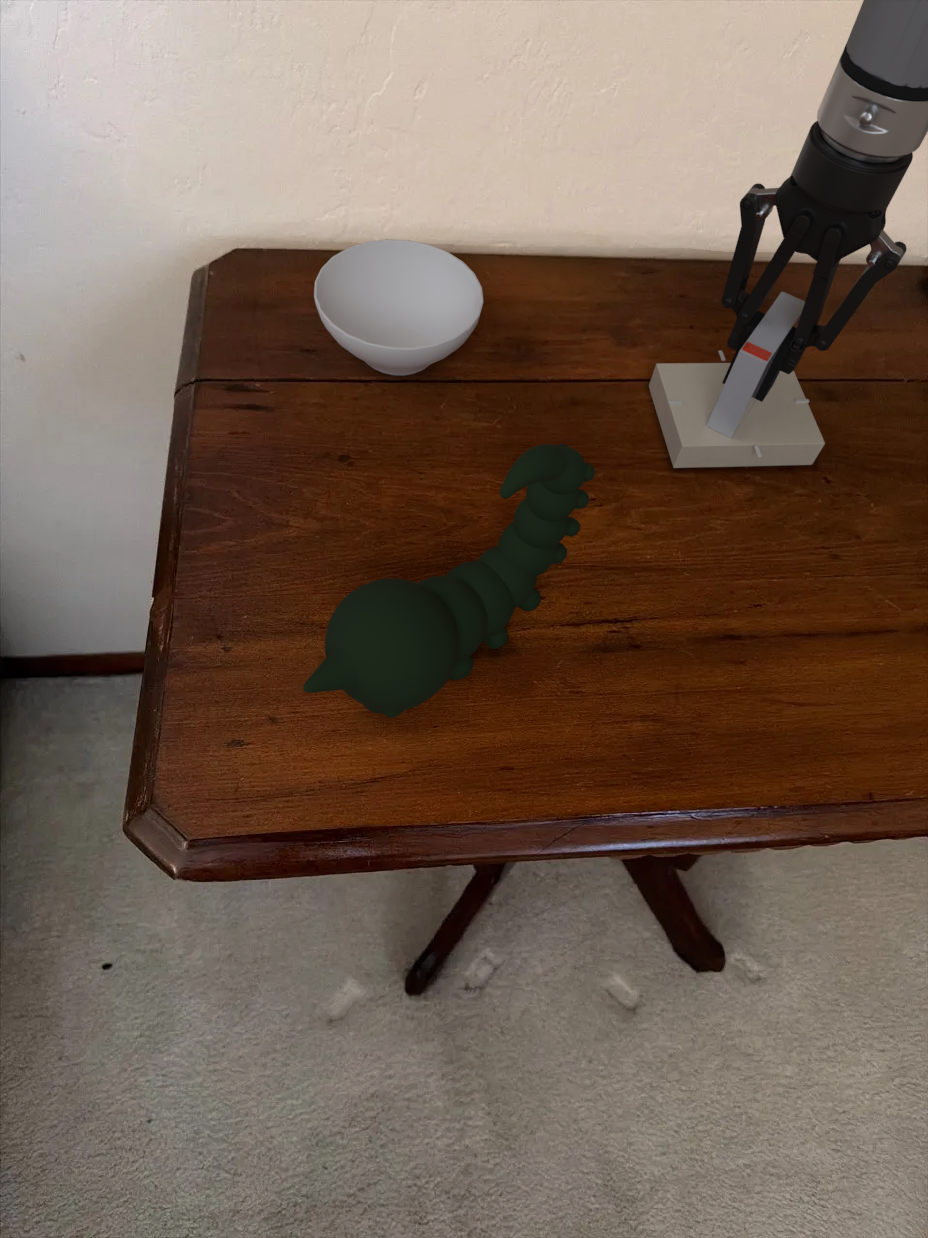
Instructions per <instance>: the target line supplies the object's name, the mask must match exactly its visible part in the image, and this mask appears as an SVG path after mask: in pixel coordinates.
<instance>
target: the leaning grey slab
mask: <svg viewBox="0 0 928 1238" xmlns="http://www.w3.org/2000/svg"><path fill="white" fill-rule="evenodd" d="M805 301H806V300H805ZM805 301H804V300H802V299H800V298H798V297H795V296H793V295H792V294H789V293H787V292H784V291H780V293H779V295H778V296H777V297H776V299H775V300H774V301H773V303H772V304H771V306H770V307H769V309H768V310H767V311H766V312H765V313H764V314H765V316H764V317H763V318H762V320H761V321H760V323H759V324H758V325H757V327H756V328H755V330H754V331H753V332H752V334H751V335H750V337H749V338H748V339H747V341H746V342H745V344H744V345H743V346H742V348H741V349H740V351H739V353H738V355H737V357H736V360H735V362H734V364H733V366H732V369H731V371H730V373H729V375H728V378H727V380H726V382H725V385H724V387H723V389H722V391H721V394H720V396H719V398H718V400H717V403H716V405H715V407H714V409H713V412H712V414H711V416H710V418H709V421H708V423H707V425H706V426H707V427H709V428H711V429H713V430H715V431H717V432H719V433H721V434H723V435H726V436H728V437H730V438H732V436H733V435H734V433H735V432H736V430H737V429H738V427H739V426H740V424H741V423H742V421H743V420H744V418H745V417H746V415H747V414H748V412H749V411H750V409H751V408H752V406H753V405H754V403H755V402H756V400H757V399H755V397H756V395H757V393H758V391H759V389H760V387H761V385H762V383H763V381H764V379H765V377H766V375H767V372H768V370H769V368H770V366H771V364H772V362H773V360H774V358H775V356H776V354H777V352H778V350H779V348H780V346H781V344H782V342H783V341H784V339H785V338H786V336H787V335H788V333H789V332H790V330H791V329H792V327H795V328H797V326H798V323H799V319H800V316H801V313H802V310H803V307H804V304H805Z"/></svg>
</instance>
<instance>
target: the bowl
mask: <svg viewBox="0 0 928 1238" xmlns="http://www.w3.org/2000/svg"><path fill="white" fill-rule="evenodd" d="M313 298H314V303H315V304H314V305H315V307H316V309H317V312H318V315H319V318H320V321H321V322H322V324H323V326H324V328H325V329H326V330H327V332H328V333H329V334H330V335H331V337H333V339H334V340H335V341H336V342H337V344H339V346H341V347H342V348H343V349H344V350H346V351H348V352H349V353H350V354H352V355H353V356H354V357H356V358H358V359H359V360H361V361H363V362H364V363H365V364H366V365H367V366H369V367H371V368H372V369H373V370H374V371H375V370H376V371H377V372H380V373H381V374H385V375H390V376H410V375H415V374H416V373H417V374H418V373H419V372H422V371H424V370H425V369H426V368H429V366H430V365H433V364H435V363H437V362H440V361H442V360H444V359H446V358H447V357H448V356H450V355H451V354H452V353H455V351H457V350H459V348H460V347H461V346H462V345H464V344H465V342H466V341H467V340H468V339H469V337H470V336H471V335H472V333H473V332H474V330H475V329H476V327H477V325H478V323H479V320H480V316H481V313H482V309H483V306H484V292H483V286H482V285H481V282H480V281H479V278H478V277H477V275H476V273H475V272H474V271H473V270H472V268H470V267H469V266H468V265H467V264H466V263H465V262H464V261H463V260H461V259H459V258H458V257H456V256H455V255H453V254H452V253H450V252H448V250H446V249H445V250H444V249H442V248H440V247H437V246H434V245H432V244H429V243H424V242H419V241H415V240H410V239H392V238H391V239H388V238H387V239H386V238H385V239H380V240H371V241H365V242H362V243H358V244H356V245H353V246H349V247H347V248H345V249H343V250H342V251H340V252H338V253H336V254H335V255H333V256H332V257H330V258H329V260H328V261H327V262H326V263H325V264H324V265H323V266H322V267H321V268H320V270H319V271H318V274H317V276H316V279H315V281H314V288H313Z"/></svg>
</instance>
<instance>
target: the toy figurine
mask: <svg viewBox="0 0 928 1238" xmlns="http://www.w3.org/2000/svg"><path fill="white" fill-rule="evenodd" d="M595 476H596V470H595V468H594V466H593V465H592V464H591V463H589V462H586V461H585V459H584V457H583V456H582V454H581V453H580V452H578V451H577V450H576V449H575V448H572V447H569V445H567V443H563V442H562V443H559V444H557V445H555V444H551V443H550V444H549V443H542V444H538V445H535V446H532V447H530V448H529V449H527V450H526V451H524V452H523V453H522V454H521V455H520V456H519V457H518V458H517V459H516V460H515V461H514V462H513V464H512V466H511V467H510V468H509V470H508V472H507V473H506V476H505V478H504V480H503V481H502V483H501V486H500V488H499V496H500V498H502V499H503V500H506V499H509V498H511V497H512V496H513V495H516V493H518V492H519V491H521V490H522V489H525V488H526V490H525V491H526V492H525V498H524V499H523V500H521V501H520V503H519V504H518V505H517V507H516V509H515V510H514V515H513V519H512V522H511V523H509V524H508V525H507V526H506V527H505V529H504V530H502V532H501V534H500V537H499V538H498V542H497V545H495V546H493V547H490V548H489V549H487V550H485V551H484V552H483V553H481V555H480V556H479V557H478V558H477V560H469V561H466V562H462V563H459V564H458V565H457V566H455V567H453V568H451V569H449V571H448V572H447V573H446V574H445V575H434V576H431V577H428V578H425V579H422V580H420V581H419V582H415V581H413V580H408V579H404V578H398V577H397V578H395V577H394V578H393V577H391V578H381V579H376V580H373V581H370V582H368V583H365V584H363V585H360V586H359V587H357V588H355V589H354V590H352V591H350V592H349V593H347V594H346V596H345V597H344V598H342V600H341V601H339V603H338V604H337V606H336V608H335V610H334V611H333V612H332V614H331V616H330V619H329V621H328V624H327V627H326V631H325V638H324V652H325V658H324V660H323V661H322V662H321V663H320V664H319V665H318V666H317V667H316V669H315V670H314V671H313V672H312V673H311V674H310V676H309V677H308V678H307V679H306V681H305V682H304V684H303V686H302V690H303V692H305V693H307V694H309V693H310V694H315V693H325V692H333V691H343V693H345V694H346V695H347V696H348V697H350V698H351V699H353V700H354V701H355V702H358V703H359V704H361V705H362V706H363V707H364V708H365V709H366V710H368V711H370V712H372V713H373V714H379V715H380V714H382V715H383V716H385V717H386V718H391V719H392V718H397V717H399V716H400V715H401V714H402V713H403V712H405V711H408V710H410V709H411V710H412V709H414V708H416V707H417V706H419V705H421V704H423V703H425V702H426V701H428V700H429V699H430V698H432V697H434V696H435V695H436V694H437V693H438V692H439V691H440V690H441V689H442V688H443V687H444V686H445V684H446V683H447V682H448V681H449V680H453V681H459V680H463V679H465V678H466V677H468V676H469V675H470V674H471V672H472V670H473V668H474V658H473V654H474V653H476V651H477V650H478V649H479V647H480V645H481V644H482V643H484V644H485V645H486V646H487V647H488V648H490V649H493V650H497V649H500V648H502V647H504V646H505V645H506V644H507V642H508V640H509V635H508V630H507V629H506V628H505V627H506V626H507V625H508V624H509V623H510V622H509V621H510V620H511V618H512V616H513V614H514V612H515V608H518V609H520V610H522V611H523V612H532V611H533V612H534V610H536V609H537V608H538V607H539V606H540V604H541V603H542V602H541V601H542V595H541V592H540V591H539V590H538V589H537V588H536V585H537V579H538V576H541V575H543V574H545V573H546V571H548V570H549V569H550V568H551V566H552V565H553V564H554V565H557V564H562V563H563V562H564V560H566V559H567V557H568V548H567V547H566V546H565V545H564V544H563V543H561V541H562V540H563V539H564V538H565V537H566V536H567V537H569V538H573V537H575V536H577V535H578V534H579V532H580V531H581V523H580V521H578V520H577V519H576V518H574V517H573V516H571V517H570V515H571V514H572V513H573V512H574V510H576V509H577V510H582V509H584V508H586V507H587V506H588V505H589V503H590V496H589V493H588V492H587V491H585V490H584V489H580V488H581V487H582V485H583V484H584V483H586V482H590V481H592V480H593V479H594V477H595Z"/></svg>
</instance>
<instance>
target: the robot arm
mask: <svg viewBox="0 0 928 1238" xmlns="http://www.w3.org/2000/svg"><path fill="white" fill-rule="evenodd" d="M839 57H840V58H839V59H838V62H837V65H836V66H835V69H834V71H833V74H832V75H831V79H830V81H829V83H828V84H827V85H828V86H827V88H826V90H825V92H824V95H823V97H822V99H821V102H820V104H819V107H818V109H817V113H816V121H815V122H813V123H812V125H811V126H810V128H809V130H808V132H807V136H806V138H805V139H804V143H803V146H802V147H801V150H800V152H799V155H798V158H796V159H797V160H796V162H795V165H794V166H793V169H792V172H791V174H790V176H789V177H788V178H786V179H785V180H784V181H783V182H782V184H781V185H780V186H779V187H770V188H766V187H765V185H763V183H759V182H758V183H755V184H753V185H752V186H751V187H750V188H749V190H748V191H747V192H746V193H745V194H744V196H743V197H742V198H741V199H740V201H739V212H740V213H739V214H740V223H741V225H740V231H739V234H738V238H737V242H736V245H735V249H734V252H733V256H732V260H731V264H730V267H729V271H728V275H727V279H726V282H725V285H724V289H723V292H722V293H723V294H722V297H721V305H722V307H723V308H725V309H729V310H732V311H733V312H734V313H735V315H736V320H735V321H734V325H733V327H732V329H731V332H730V334H729V336H728V338H727V347H728V348H730V349H732V350H734V351H735V353H734V355H733V357H732V359H731V361H730V363H731V364H730V366H729V368H728V371H727V373H726V375H725V377H724V380H723V382H722V383H723V384H725V382H726V380H727V378H728V375H729V373H730V371H731V369H732V366H733V364H734V362H735V360H736V357H737V355H738V353H739V351H740V349H741V348H742V346H743V345H744V344H745V342H746V341H747V339H748V338H749V337H750V335H751V334H752V332H753V331H754V330H755V328H756V327H757V325H758V324H759V323H760V321H761V320H762V318H763V317H764V316H765V314H766V313H764V312H762V311H761V310H759V309H760V308H761V306H762V305H763V304H764V301H765V300H766V299H767V297H768V295H769V294H770V292H771V291H772V289H773V287H774V286H775V284H776V282H777V280H778V279H779V278H780V277H781V275H782V273H783V271H784V270H785V268H786V267H787V265H788V264H789V262H790V261H791V259H792V257H793V256H794V254H795V253H797V254H802V255H808V256H809V257H810V258H812V259H813V260H814V261H815V262H816V264H815V267H814V270H813V274H812V275H813V277H812V279H811V282H810V285H809V287H808V288H809V289H808V292H807V295H806V298H805V304H804V307H803V310H802V313H801V316H800V319H799V323H798V325H797V327H796V328H795V327H792V329H791V330H790V332H789V333H788V335H787V336H786V338H785V339H784V341H783V342H782V344H781V346H780V348H779V350H778V352H777V354H776V356H775V358H774V360H773V362H772V364H771V366H770V368H769V370H768V372H767V375H766V377H765V379H764V381H763V383H762V385H761V387H760V389H759V391H758V393H757V395H756V397H755V399H757V400H759V401H761V402H763V400H764V398H765V397H766V395H767V394H768V392H769V391H770V389H771V388H772V386H773V384H774V382H775V380H776V378H777V376H778V374H779V372H780V371H782V372H784V373H786V374H788V375H789V374H790V373H791V372H793V370H794V371H795V369H796V367H797V366H798V364H799V362H800V361H801V359H802V357H803V355H804V353H805V351H806V349H807V348H809V347H814V348H815V347H816V349H817V350H818V351H820V352H825V351H827V350H828V349H830V347H831V346H832V344H833V343H834V342H835V340H836V339H837V338H838V336H839V335H840V333H841V332H842V331H843V329H844V328H845V326H846V325H847V324H848V322H849V321H850V319H851V318H852V317H853V315H854V314H855V312H856V311H857V309H858V308H859V307H860V305H861V304H862V303H863V302H864V300H865V298H866V297H867V296H868V295H869V294H870V292H871V291H872V289H873V288H874V286H875V285H876V283H878V282H879V281H881V280H882V279H883V278H885V277H887V276H888V275H889V274H891V273H892V272H894V271H895V270H896V269H897V267H898V266H899V264H900V262H901V261H902V259H903V257H904V255H905V254H906V253H907V245H906V244H905V242H903V241H893V240H892V238H891V237H890V236H889V235H888V233H887V232H886V230H885V227H886V222H887V217H886V216H887V215H886V214H887V209H888V207H889V206H890V204H891V201H892V199H893V198H894V196H895V194H896V192H897V190H898V188H899V186H900V185H901V182H902V181H903V179H904V177H905V176H906V173H907V172H908V169H909V168H910V166H911V163H913V162H912V161H913V157H914V156H913V155H914V154H913V153H914V152H916V151H917V150H918V149H919V148H920V147H921V145H922V143H923V142H924V139H925V137H926V135H928V0H862V3H861V6H860V8H859V11H858V14H857V16H856V18H855V21H854V23H853V26H852V28H851V31H850V34H849V36H848V38H847V41H846V43H845V46H844V47H843V51H842V53H841V54H840V56H839ZM774 207H775V208H776V212H777V216H778V220H779V224H780V229H781V233H782V238H783V239H782V241H781V242H780V244H779V246H778V247H777V249H776V250H775V252H774V254H773V256H772V258H771V259H770V261H769V263H768V264H767V266H766V268H765V269H764V271H763V272H762V274H761V276H760V277H759V279H758V280H757V283H756V284H755V285H754V287H753V288H752V290H751V292H750V294H749V292H747V291H746V288H747V285H748V281H749V278H750V275H751V271H752V268H753V264H754V261H755V258H756V254H757V251H758V247H759V243H760V241H761V236H762V233H763V230H764V225H765V223H766V219H767V218H768V217H769V215H770V214H771V213H772V212H773V210H774ZM867 246H870V251H869V252H868V255H866V258H865V262H866V264H867V265H866V267H865V268H864V270H863V271H862V273H861V274H860V276H859V277H858V279H857V280H856V282H855V283H854V284H853V286H852V287H851V289H850V290H849V292H848V293H847V295H846V296H845V297H844V299H843V300H842V302H841V303H840V305H839V306H838V307H837V309H836V310H835V312H834V313H833V315H832V317H830V319H829V321H828V322H827V323H826V325H821V324H819V322H820V319H821V316H822V313H823V311H824V308H825V305H826V302H827V300H828V299H827V298H828V296H829V293H830V290H831V287H832V284H833V282H834V278H835V275H836V273H837V270H838V266H839V265H840V262H841V260H842V259H844V258H846V257H848V256H849V255H851V254H853V253H855V252H858V251H859V250H861V249H863V248H865V247H867Z"/></svg>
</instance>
